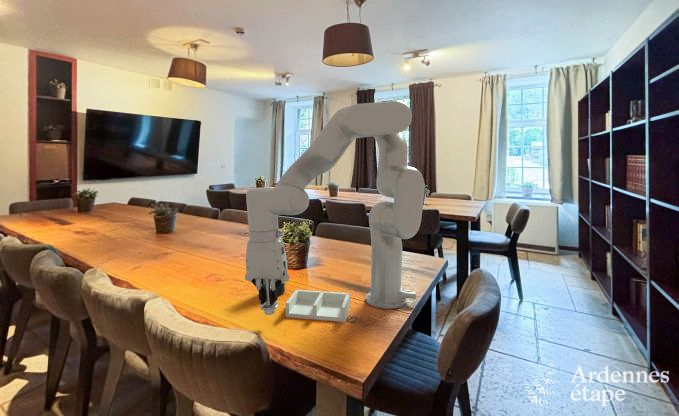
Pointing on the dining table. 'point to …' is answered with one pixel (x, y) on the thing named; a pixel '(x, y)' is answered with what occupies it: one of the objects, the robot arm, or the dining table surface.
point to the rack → (318, 305)
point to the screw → (268, 300)
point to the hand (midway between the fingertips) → (268, 302)
